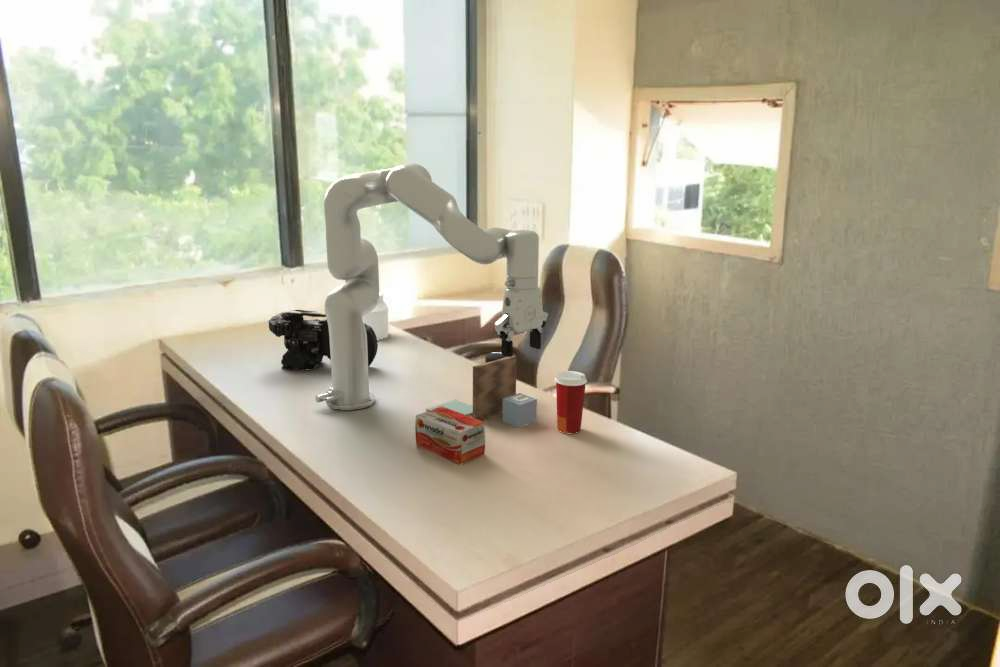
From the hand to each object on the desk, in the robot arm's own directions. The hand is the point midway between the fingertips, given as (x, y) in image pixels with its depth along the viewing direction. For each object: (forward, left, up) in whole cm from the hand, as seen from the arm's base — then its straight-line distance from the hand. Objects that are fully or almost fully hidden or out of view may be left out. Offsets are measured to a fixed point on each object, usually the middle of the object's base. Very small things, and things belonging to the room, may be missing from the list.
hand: (521, 351), depth 187 cm
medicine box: (-24, -2, -19) cm, 31 cm away
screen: (-1, +8, -18) cm, 20 cm away
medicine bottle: (+8, +17, -18) cm, 26 cm away
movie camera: (-14, +70, -18) cm, 73 cm away
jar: (+17, +89, -18) cm, 93 cm away
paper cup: (+5, -12, -18) cm, 22 cm away
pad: (-8, +16, -18) cm, 26 cm away
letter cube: (0, 0, -18) cm, 18 cm away
